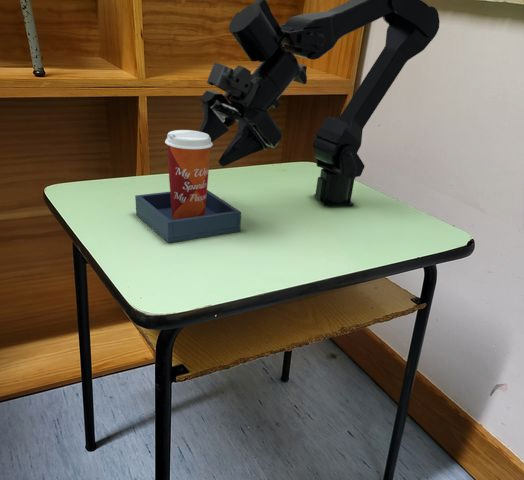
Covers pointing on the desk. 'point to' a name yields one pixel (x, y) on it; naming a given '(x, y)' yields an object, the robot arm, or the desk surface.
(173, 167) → the paper cup
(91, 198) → the desk surface
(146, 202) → the open square box
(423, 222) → the desk surface
